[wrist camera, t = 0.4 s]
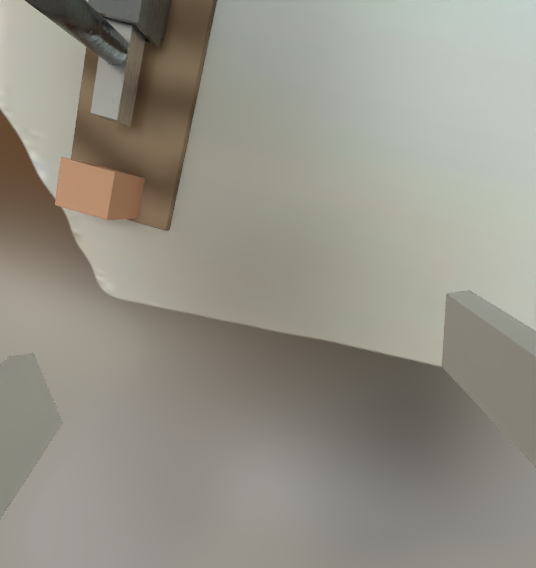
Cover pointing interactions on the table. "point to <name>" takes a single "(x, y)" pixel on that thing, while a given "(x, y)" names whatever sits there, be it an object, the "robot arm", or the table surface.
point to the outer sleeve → (138, 15)
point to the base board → (151, 112)
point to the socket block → (98, 190)
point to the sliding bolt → (103, 54)
